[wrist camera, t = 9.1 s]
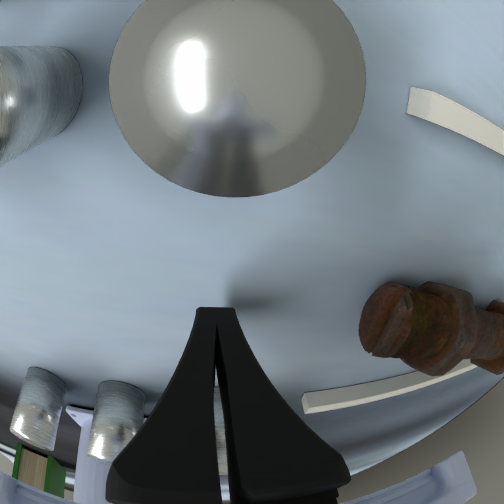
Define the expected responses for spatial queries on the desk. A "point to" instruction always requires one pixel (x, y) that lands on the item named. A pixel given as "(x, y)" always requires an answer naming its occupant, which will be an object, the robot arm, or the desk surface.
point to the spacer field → (192, 133)
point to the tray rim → (500, 141)
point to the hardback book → (39, 471)
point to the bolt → (432, 328)
